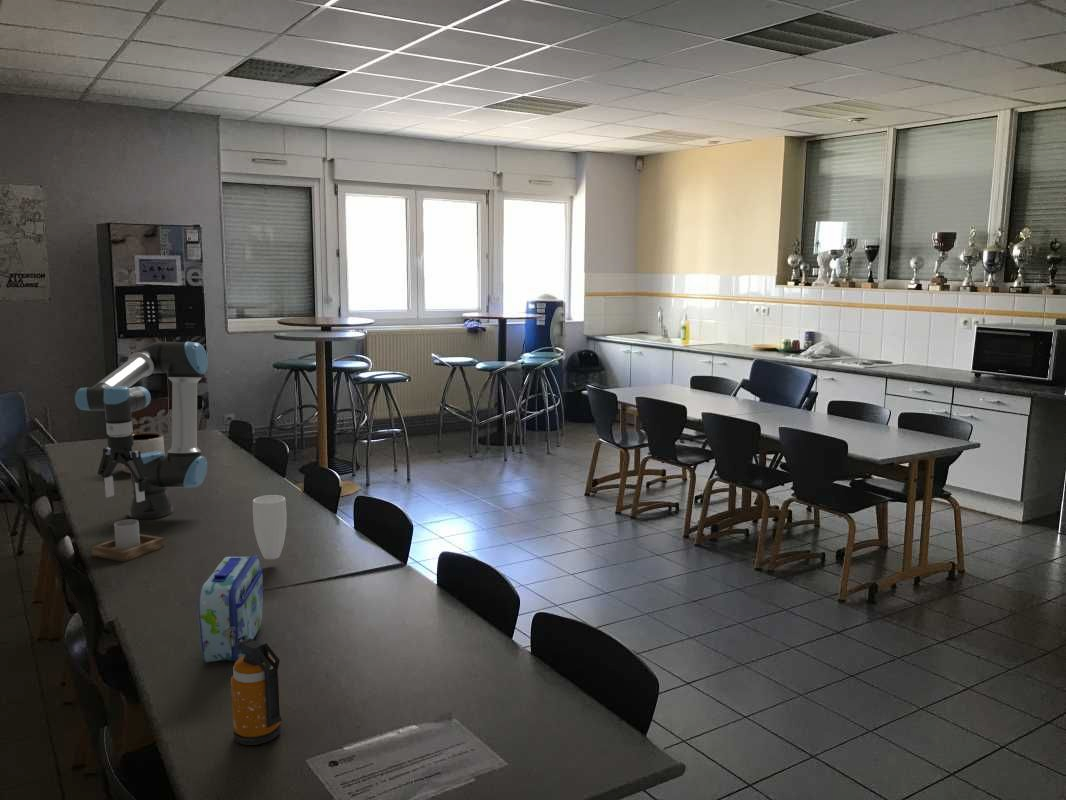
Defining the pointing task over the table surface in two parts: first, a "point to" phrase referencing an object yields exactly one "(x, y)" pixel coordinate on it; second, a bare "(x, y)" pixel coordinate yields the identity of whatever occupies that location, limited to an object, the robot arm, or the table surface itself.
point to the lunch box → (230, 607)
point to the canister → (255, 694)
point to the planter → (146, 444)
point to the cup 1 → (126, 534)
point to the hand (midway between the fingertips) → (125, 498)
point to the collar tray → (112, 553)
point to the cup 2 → (270, 524)
